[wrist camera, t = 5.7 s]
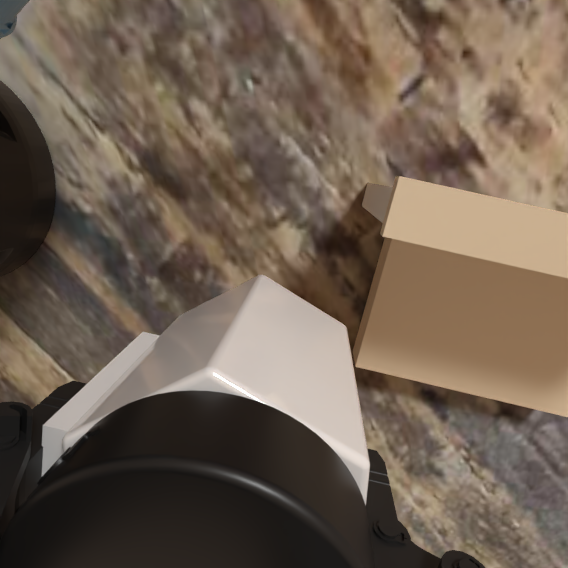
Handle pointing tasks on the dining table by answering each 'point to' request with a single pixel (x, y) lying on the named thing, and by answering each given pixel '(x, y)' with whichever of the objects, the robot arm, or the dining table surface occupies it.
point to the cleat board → (468, 294)
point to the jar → (213, 451)
